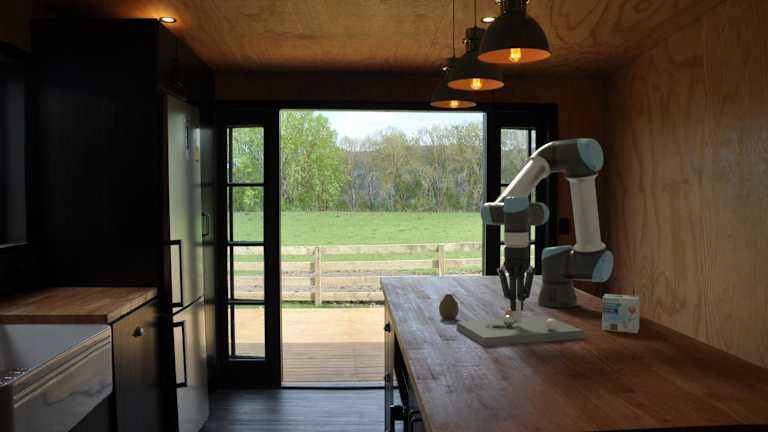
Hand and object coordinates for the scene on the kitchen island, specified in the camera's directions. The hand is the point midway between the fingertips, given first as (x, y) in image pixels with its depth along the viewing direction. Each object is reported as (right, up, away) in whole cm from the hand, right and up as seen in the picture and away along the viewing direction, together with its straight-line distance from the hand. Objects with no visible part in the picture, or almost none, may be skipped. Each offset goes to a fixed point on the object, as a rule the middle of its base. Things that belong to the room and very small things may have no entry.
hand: (516, 321), depth 178 cm
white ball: (+9, 0, -7) cm, 11 cm away
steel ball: (-3, 0, -1) cm, 3 cm away
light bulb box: (+34, -4, +4) cm, 35 cm away
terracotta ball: (0, +1, +9) cm, 9 cm away
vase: (-19, -4, +24) cm, 30 cm away
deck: (0, -4, 0) cm, 4 cm away
